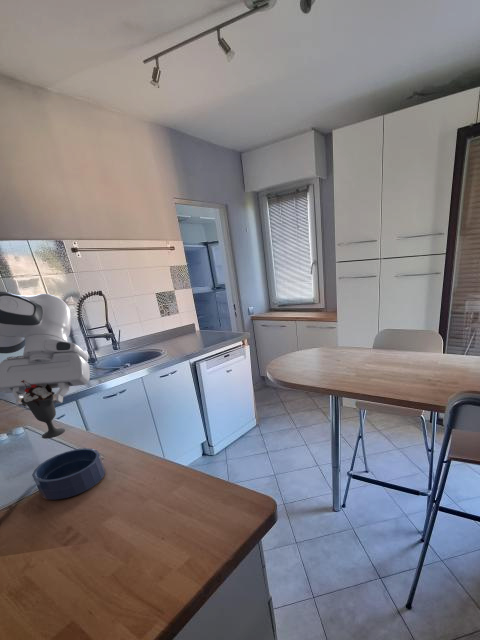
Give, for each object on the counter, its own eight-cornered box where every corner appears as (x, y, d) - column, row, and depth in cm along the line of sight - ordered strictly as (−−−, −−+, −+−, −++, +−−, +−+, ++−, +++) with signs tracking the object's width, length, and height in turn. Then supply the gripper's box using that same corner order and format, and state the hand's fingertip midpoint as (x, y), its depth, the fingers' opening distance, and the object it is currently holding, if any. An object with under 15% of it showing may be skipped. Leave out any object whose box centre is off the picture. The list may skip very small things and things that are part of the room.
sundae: (34, 443, 79) (7, 384, 73) (41, 431, 85) (17, 376, 79) (66, 436, 82) (43, 378, 75) (71, 425, 87) (50, 370, 81)
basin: (28, 505, 80) (18, 485, 78) (59, 470, 94) (51, 452, 91) (92, 496, 82) (84, 476, 80) (113, 463, 95) (107, 445, 93)
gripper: (-9, 351, 80) (-20, 405, 75) (81, 343, 82) (76, 394, 77) (11, 363, 86) (2, 414, 81) (94, 355, 88) (91, 403, 83)
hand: (39, 404), depth 79 cm, fingers closed on sundae, 6 cm apart
